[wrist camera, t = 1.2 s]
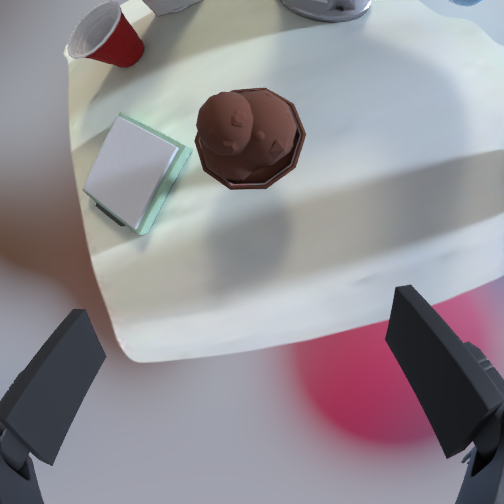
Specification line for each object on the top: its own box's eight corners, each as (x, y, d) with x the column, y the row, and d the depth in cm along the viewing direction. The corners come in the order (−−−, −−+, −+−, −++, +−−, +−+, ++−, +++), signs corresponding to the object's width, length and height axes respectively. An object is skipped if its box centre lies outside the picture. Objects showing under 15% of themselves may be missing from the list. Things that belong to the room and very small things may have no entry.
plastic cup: (101, 85, 38) (56, 65, 26) (116, 39, 36) (79, 13, 24) (148, 76, 36) (105, 45, 24) (163, 27, 34) (129, -8, 22)
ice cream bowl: (238, 207, 36) (192, 206, 22) (213, 132, 35) (160, 91, 21) (316, 182, 34) (323, 161, 19) (287, 105, 33) (273, 45, 18)
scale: (128, 115, 37) (116, 110, 34) (193, 149, 36) (183, 144, 33) (90, 195, 41) (77, 194, 37) (145, 238, 39) (133, 241, 36)
